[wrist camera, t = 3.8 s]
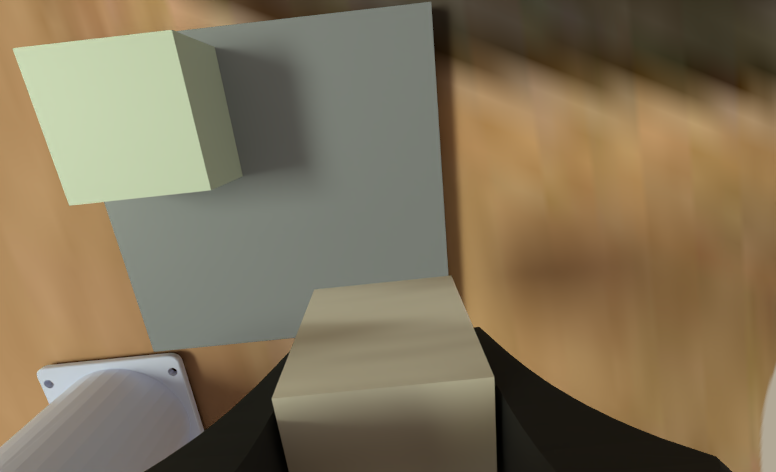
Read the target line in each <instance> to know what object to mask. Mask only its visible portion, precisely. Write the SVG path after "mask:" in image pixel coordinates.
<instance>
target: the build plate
mask: <svg viewBox="0 0 776 472" xmlns="http://www.w3.org/2000/svg"><path fill="white" fill-rule="evenodd" d="M176 32H178V33H181V34H183V35H186V36H188V37H191V38H193V39H196V40H198V41H201V42H203V43H206V44H208V45H211V46H213V47H215V51H216V56H217V60H218V65H219V69H220V74H221V79H222V83H223V88H224V92H225V97H226V101H227V106H228V111H229V115H230V120H231V124H232V129H233V134H234V138H235V143H236V147H237V152H238V157H239V161H240V166H241V170H242V175H243V176H242V177H240V178H238V179H235V180H233V181H231V182H229V183H226V184H224V185H222V186H220V187H217V188H215V189H213V190H209V191H200V192H191V193H181V194H172V195H163V196H153V197H144V198H135V199H126V200H116V201H107V202H104V203H105V206H106V209H107V212H108V215H109V218H110V221H111V224H112V227H113V230H114V233H115V236H116V239H117V242H118V245H119V248H120V251H121V254H122V257H123V260H124V263H125V266H126V269H127V272H128V275H129V278H130V281H131V284H132V287H133V290H134V293H135V296H136V299H137V302H138V305H139V308H140V311H141V314H142V317H143V320H144V323H145V326H146V329H147V332H148V335H149V338H150V341H151V344H152V347H153V350H154V352H156V351H166V350H176V349H187V348H197V347H207V346H217V345H227V344H237V343H247V342H257V341H267V340H277V339H287V338H295V337H296V335H297V332H298V330H299V327H300V325H301V322H302V320H303V317H304V314H305V312H306V309H307V307H308V304H309V302H310V299H311V297H312V294H313V291H314V290H315V289H325V288H334V287H344V286H354V285H364V284H373V283H383V282H393V281H403V280H412V279H422V278H432V277H442V276H448V261H447V245H446V230H445V214H444V198H443V182H442V166H441V150H440V134H439V119H438V103H437V87H436V71H435V55H434V39H433V23H432V8H431V2H425V3H417V4H408V5H399V6H391V7H382V8H373V9H365V10H356V11H347V12H339V13H330V14H322V15H313V16H304V17H296V18H287V19H278V20H270V21H261V22H252V23H244V24H235V25H226V26H218V27H209V28H200V29H192V30H183V31H176Z"/></svg>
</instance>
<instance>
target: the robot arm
mask: <svg viewBox="0 0 776 472" xmlns="http://www.w3.org/2000/svg"><path fill="white" fill-rule="evenodd" d="M474 330H475V333H476V335H477V337H478V340H479V342H480V344H481V347H482V349H483V351H484V354H485V356H486V358H487V361H488V363H489V366H490V368H491V370H492V373H493V375H494V381H495V418H496V454H497V472H732V471H731V470H730V469H729V468H728V467H727V466H726V465H725V464H723V463H722V462H721V461H720V460H719V459H718V458H717V457H716V456H713V455H710V454H707V453H704V452H701V451H698V450H695V449H692V448H689V447H686V446H683V445H680V444H677V443H674V442H671V441H668V440H665V439H662V438H659V437H657V436H654V435H652V434H649V433H647V432H644V431H642V430H639V429H637V428H634V427H632V426H629V425H627V424H625V423H623V422H620V421H618V420H616V419H614V418H611V417H609V416H607V415H605V414H603V413H601V412H599V411H597V410H595V409H593V408H591V407H589V406H587V405H585V404H583V403H582V402H580V401H578V400H576V399H574V398H573V397H571V396H569V395H568V394H566V393H564V392H563V391H561V390H559V389H557V388H556V387H554V386H553V385H551V384H550V383H548V382H546V381H545V380H544V379H542V378H541V377H539V376H538V375H536V374H535V373H534V372H532V371H531V370H529V369H528V368H527V367H525V366H524V365H523V364H522V363H520V362H519V361H518V360H517V359H515V358H514V357H513V356H512V355H510V354H509V353H508V352H507V351H506V350H505V349H503V348H502V347H501V346H500V345H499V344H498V343H497V342H495V341H494V340H493V339H492V338H491V337H490V336H489V335H488V334H487V333H485V332H484V331H483V330H482V329H481V328H480V327H475V328H474ZM289 353H290V352H289ZM289 353H288V354H287V355H286V356H285V357H284V358H283V359H282V360H281V361H280V362H279V363H278V364H277V365H276V366H275V368H274V369H273V370H272V371H271V372H270V373H269V374H268V375H267V376H266V377H265V378H264V379H263V380H262V381H261V382H260V383H259V384H258V385H257V386H256V387H255V388H254V389H253V390H252V391H251V392H249V393H248V394H247V395H246V396H245V397H244V398H243V399H242V400H241V401H240V402H239V403H238V404H237V405H236V406H234V407H233V408H232V409H231V410H230V411H229V412H228V413H226V414H225V415H224V416H223V417H222V418H220V419H219V420H218V421H217V422H215V423H214V424H213V425H212V426H210V427H209V428H208V429H206V430H205V431H204V428H203V425H202V422H201V419H200V415H199V412H198V409H197V406H196V402H195V399H194V396H193V393H192V390H191V386H190V383H189V380H188V377H187V373H186V370H185V367H184V364H183V360H182V358H181V357H180V356H179V355H178V354H176V353H164V354H154V355H144V356H134V357H124V358H114V359H104V360H94V361H84V362H74V363H63V364H53V365H46V366H44V367H42V368H41V369H40V370H39V371H38V372H37V377H38V380H39V382H40V384H41V386H42V388H43V391H44V393H45V395H46V397H47V400H48V402H49V405H48V406H47V407H46V408H45V409H43V410H42V411H41V412H40V413H39V414H38V415H37V416H35V417H34V418H33V419H32V420H31V421H30V422H28V423H27V424H26V425H25V426H24V427H23V428H22V429H20V430H19V431H18V432H17V433H16V434H15V435H14V436H12V437H11V438H10V439H9V440H8V441H7V442H5V443H4V444H3V445H2V446H1V447H0V472H289V470H288V466H287V462H286V458H285V453H284V449H283V445H282V441H281V436H280V432H279V428H278V424H277V420H276V415H275V411H274V407H273V403H272V396H273V394H274V391H275V389H276V386H277V383H278V381H279V378H280V376H281V373H282V371H283V368H284V366H285V363H286V360H287V358H288V355H289ZM172 368H174V369H176V370H177V371H174V370H173V369H172ZM51 381H52V382H51Z"/></svg>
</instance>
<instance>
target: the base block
mask: <svg viewBox="0 0 776 472" xmlns="http://www.w3.org/2000/svg"><path fill="white" fill-rule="evenodd" d="M13 51H14V54H15V56H16V59H17V62H18V65H19V68H20V70H21V73H22V76H23V79H24V81H25V84H26V87H27V90H28V92H29V95H30V98H31V101H32V104H33V106H34V109H35V112H36V115H37V117H38V120H39V123H40V126H41V128H42V131H43V134H44V137H45V140H46V142H47V145H48V148H49V151H50V153H51V156H52V159H53V162H54V164H55V167H56V170H57V173H58V176H59V178H60V181H61V184H62V187H63V189H64V192H65V195H66V198H67V201H68V203H69V206H70V205H79V204H88V203H98V202H107V201H116V200H126V199H135V198H144V197H153V196H163V195H172V194H181V193H191V192H200V191H209V190H213V189H215V188H217V187H220V186H222V185H224V184H226V183H229V182H231V181H233V180H235V179H238V178H240V177H242V176H243V175H242V170H241V166H240V161H239V157H238V152H237V147H236V143H235V138H234V134H233V129H232V124H231V120H230V115H229V111H228V106H227V101H226V97H225V92H224V88H223V83H222V79H221V74H220V69H219V65H218V60H217V56H216V51H215V47H213V46H211V45H208V44H206V43H203V42H201V41H198V40H196V39H193V38H191V37H188V36H186V35H183V34H181V33H178V32H176V31H173V30H167V31H158V32H149V33H141V34H132V35H123V36H115V37H106V38H97V39H89V40H80V41H72V42H63V43H54V44H46V45H37V46H28V47H20V48H13Z"/></svg>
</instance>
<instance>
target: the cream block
mask: <svg viewBox="0 0 776 472" xmlns="http://www.w3.org/2000/svg"><path fill="white" fill-rule="evenodd" d="M272 403H273V407H274V411H275V415H276V420H277V424H278V428H279V432H280V436H281V441H282V445H283V449H284V453H285V458H286V462H287V466H288V470H289V472H497V454H496V418H495V381H494V375H493V373H492V370H491V368H490V366H489V363H488V361H487V358H486V356H485V354H484V351H483V349H482V347H481V344H480V342H479V340H478V337H477V335H476V333H475V330H474V328H473V326H472V323H471V321H470V318H469V316H468V314H467V311H466V309H465V307H464V304H463V302H462V300H461V297H460V295H459V293H458V290H457V288H456V286H455V283H454V281H453V278H452V276H442V277H432V278H422V279H412V280H403V281H393V282H383V283H373V284H364V285H354V286H344V287H334V288H325V289H315V290H314V291H313V294H312V297H311V299H310V302H309V304H308V307H307V309H306V312H305V314H304V317H303V320H302V322H301V325H300V327H299V330H298V332H297V335H296V337H295V340H294V343H293V345H292V348H291V350H290V353H289V355H288V358H287V360H286V363H285V366H284V368H283V371H282V373H281V376H280V378H279V381H278V383H277V386H276V389H275V391H274V394H273V396H272Z"/></svg>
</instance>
